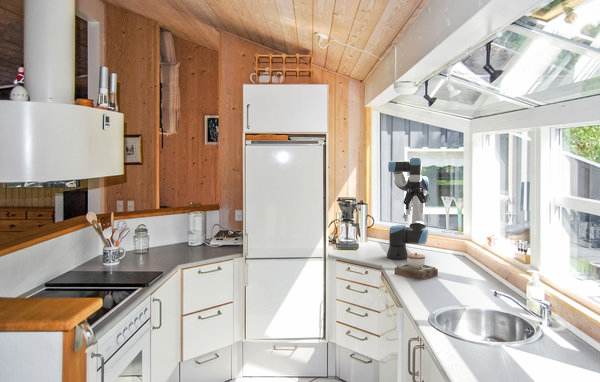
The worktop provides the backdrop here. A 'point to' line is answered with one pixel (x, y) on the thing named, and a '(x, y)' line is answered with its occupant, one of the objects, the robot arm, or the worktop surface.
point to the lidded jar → (416, 260)
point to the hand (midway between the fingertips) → (414, 213)
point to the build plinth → (416, 271)
